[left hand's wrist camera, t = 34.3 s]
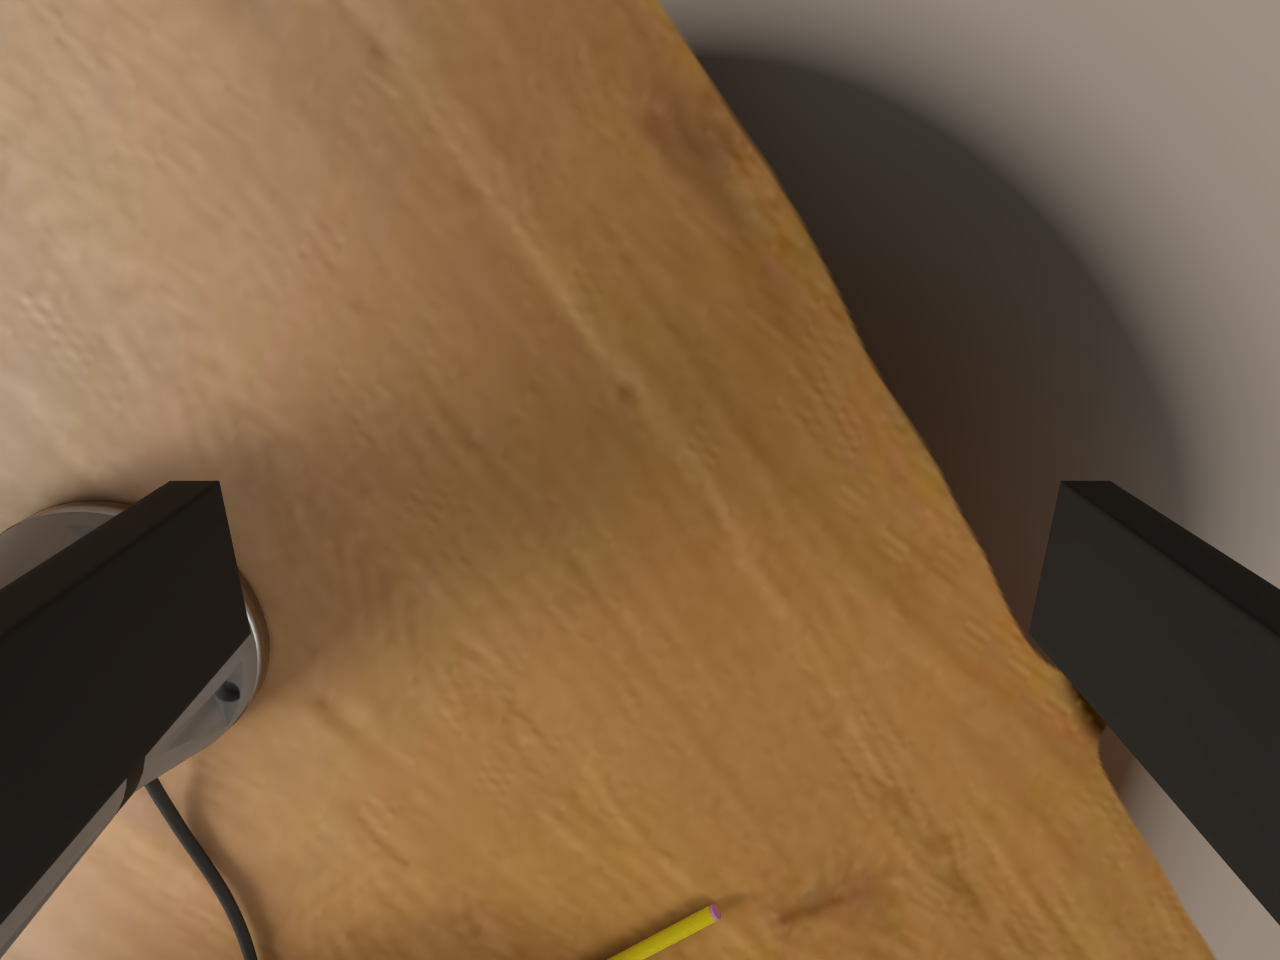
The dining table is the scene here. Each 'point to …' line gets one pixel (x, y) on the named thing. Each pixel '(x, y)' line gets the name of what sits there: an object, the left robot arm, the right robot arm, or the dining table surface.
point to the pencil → (670, 934)
